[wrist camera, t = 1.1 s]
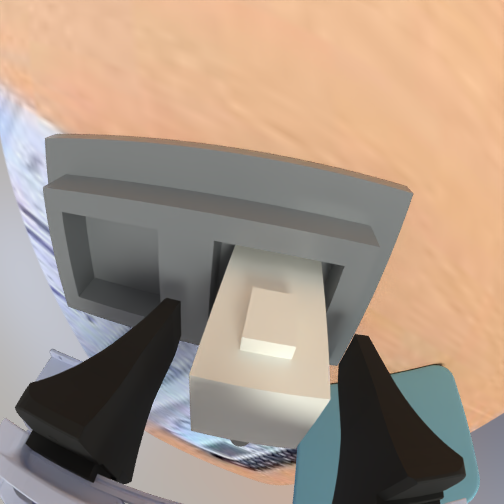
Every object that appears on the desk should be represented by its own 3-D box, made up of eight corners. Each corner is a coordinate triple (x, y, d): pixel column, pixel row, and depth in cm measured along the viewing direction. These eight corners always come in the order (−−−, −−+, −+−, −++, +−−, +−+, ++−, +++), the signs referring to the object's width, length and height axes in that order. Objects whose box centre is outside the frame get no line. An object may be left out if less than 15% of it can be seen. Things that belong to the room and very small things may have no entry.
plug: (224, 341, 19) (192, 457, 12) (239, 225, 14) (189, 362, 8) (287, 353, 18) (276, 472, 12) (323, 242, 14) (338, 388, 7)
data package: (308, 413, 24) (299, 539, 14) (300, 386, 22) (288, 534, 12) (439, 389, 21) (462, 511, 11) (448, 359, 19) (484, 498, 9)
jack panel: (79, 296, 20) (58, 322, 18) (56, 134, 14) (20, 148, 11) (336, 354, 19) (338, 390, 17) (406, 186, 13) (429, 211, 11)
